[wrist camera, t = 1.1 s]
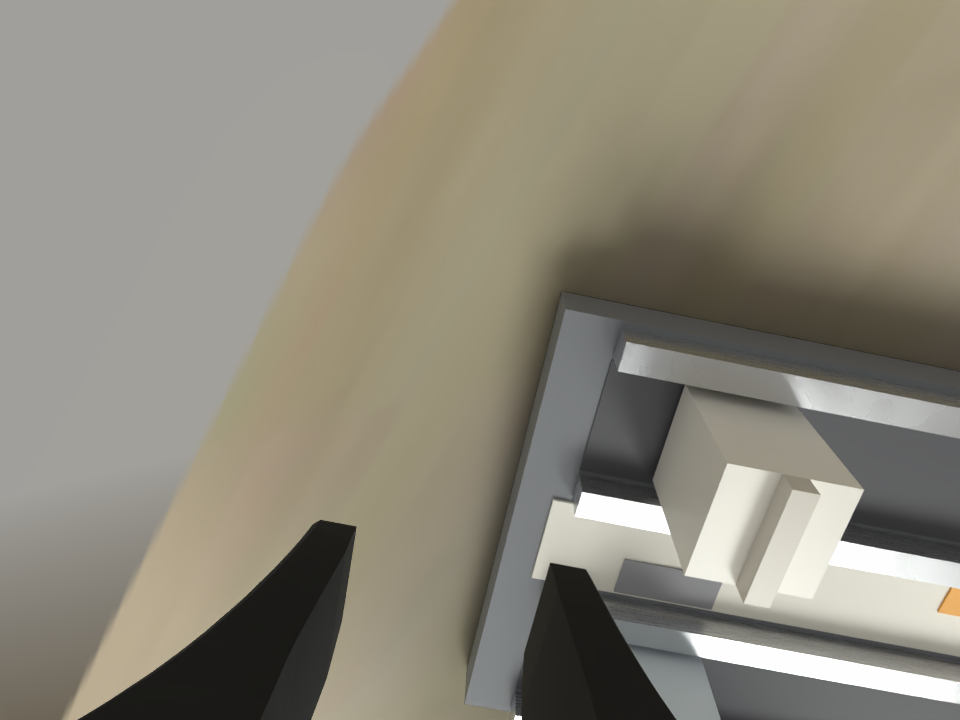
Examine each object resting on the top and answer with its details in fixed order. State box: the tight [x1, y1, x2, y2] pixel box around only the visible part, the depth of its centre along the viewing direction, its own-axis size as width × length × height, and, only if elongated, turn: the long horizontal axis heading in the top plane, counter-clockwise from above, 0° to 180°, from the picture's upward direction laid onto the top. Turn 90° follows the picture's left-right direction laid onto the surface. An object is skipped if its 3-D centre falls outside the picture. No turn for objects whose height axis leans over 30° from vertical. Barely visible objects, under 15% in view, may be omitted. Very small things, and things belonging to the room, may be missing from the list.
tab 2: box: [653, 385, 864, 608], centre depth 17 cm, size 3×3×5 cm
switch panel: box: [464, 292, 960, 720], centre depth 22 cm, size 14×22×2 cm, turn 79°
